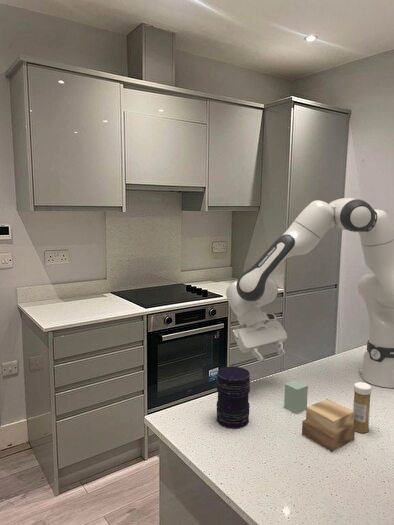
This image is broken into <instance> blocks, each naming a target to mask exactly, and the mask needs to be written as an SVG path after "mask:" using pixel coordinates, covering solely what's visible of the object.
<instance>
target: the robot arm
mask: <svg viewBox="0 0 394 525" xmlns="http://www.w3.org/2000/svg"><path fill="white" fill-rule="evenodd" d="M334 227H335V228H338V229H340V230H342V231H349V232H353V233H358V235H359V237H360V238H359V240H360V244H361V248H362V249H361V250H362V254H363V259H364V262H365V265H366V267H367V268H368V269H369V270H371V273H367V274H364V275H363V276H362V277H361V278H360V279H359V281H358V283H357V284H358V285H357V290H358V291H357V292H358V294H359V295H360V296H361V298H362V299H363V301H364V304H365V306H366V311H367V314H368V320H369V321H368V322H369V323H368V324H369V325H368V326H369V329H368V340H367V341H366V342H367V343H366V351H365V352H364V354H363V359H362V365H361V368H359V369H358V372H359V374H362V375H361V378H362V380H363V381H365V382H367V384H371V385H373V386H377V387H381V388H382V387H383V388H388V389H391V388H392V389H393V388H394V227H393V224H392V221H391V219H390V217H389V215H388V213H387V212H386V211H385V210H382V209H377V208H375V209H374V208H373V207H372V205H370V204H369V203H368V202H367V201H365V200H363V199H358V198H355V197H338V198H334V199H332V200H330V201H328V202H326V201H323V200H318V199H317V200H313V201H311V202H310V203H309V204H308V205H306V207H305V208H304V209H303V210H302V211H301V212H300V213H299V214H298V215H297V217H296V218H295V219H294V221H293V222H292V223H291V224H290V226H289V227H288V228H287V229H286V231H284V233H283V234H281V236H279V237H278V238H277V239H276V240H275V241H274V242H273V243H272V244H271V245H270V246H269V248H268V249H267V250H266V251H265V252H264V253H263V254H262V256H260V258H259V259H258V260H257V261H256V263H255V264H253V265H252V266H251V267H249V269H247V270H245V271H243V272H242V273H241V274H240V275H239V276H238V279H237V280H235V281H233V282H232V283H231V284H229V285H228V286H227V288H226V290H225V296H226V299H227V301H228V304H229V307H230V308H231V311H232V312H233V313H234V314H235V315H236V318H237V322H238V324H239V325H238V326H237V325H236V326H234V327H233V329H232V334H233V337H234V339H235V343H236V344H237V348H238V350H239V351H240V352H241V353H242V354H245V353H249V352H250V353H251V355H252V356H253V357H255V358H256V359H257V361H258V362H259V363H262V362H265V360H266V358H265V357H264V354H261V353H260V352H259V351H258V350H261V349H264V348H267V347H272V346H275V347H276V348H278V349H277V350H278V351H276V352H277V354H278V356H279V357H282V356H284V355H285V354H286V352H285V350H284V344H283V343H284V342H285V341H286V340H287V339H288V333H287V332H286V330H285V328H284V327H283V325H282V324H281V323H280V322H279V321H278V320H277V319H278V318H277V315H276V314H275V313H269V312H265V311H262V310H261V309H260V308H262V307H264V306H267V305H269V304H271V303H273V302H274V301H275V300H276V298H277V297H278V293H279V288H278V285H277V282H275V281H274V280H273V279H271V278H270V276H271V275H272V274H274V272H275V271H276V269H277V268H278V267H279V266H280V265H281V264H282V263H283V261H285V260H286V259H288V258H290V257H293V256H302V255H307V254H308V253H310V252H311V251H313V249H314V248H315V247H316V246H317V245H318V244H319V242H320V241H321V240H322V239H323V237H324V236H325V234H326V233H327V232H328V231H329V230H331V229H332V228H334Z"/></svg>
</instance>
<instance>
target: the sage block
mask: <svg viewBox="0 0 394 525" xmlns="http://www.w3.org/2000/svg"><path fill="white" fill-rule="evenodd" d="M308 389H309V386H308V384H305V383H303V382H300V381H298V380H297V379H295V380H293V381H292V380H291V381H289V382H287V383H285V384H284V400H283V402H284V403H283V408H284V409H286V410H288V411H290V412H292V413H294V414H295V415H297V414H300V413H302V412H304V411H306V408H307V407H308V393H309V390H308Z"/></svg>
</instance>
